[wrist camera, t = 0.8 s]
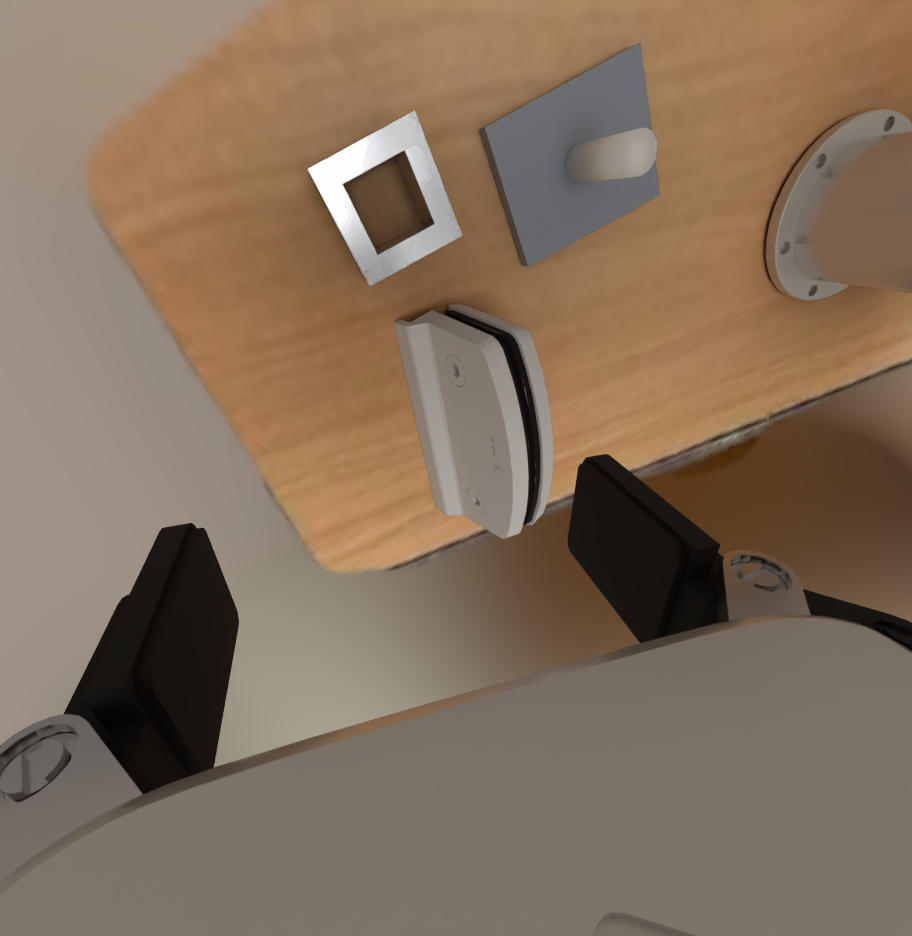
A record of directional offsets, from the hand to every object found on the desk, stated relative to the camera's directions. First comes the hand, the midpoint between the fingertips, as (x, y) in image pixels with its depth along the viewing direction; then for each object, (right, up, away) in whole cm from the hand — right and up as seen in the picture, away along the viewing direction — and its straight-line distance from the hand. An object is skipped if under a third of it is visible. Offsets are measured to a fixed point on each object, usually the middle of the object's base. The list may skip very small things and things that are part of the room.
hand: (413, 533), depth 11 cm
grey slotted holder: (+2, +6, +23) cm, 24 cm away
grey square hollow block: (-3, +17, +15) cm, 23 cm away
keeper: (+8, +21, +17) cm, 28 cm away
